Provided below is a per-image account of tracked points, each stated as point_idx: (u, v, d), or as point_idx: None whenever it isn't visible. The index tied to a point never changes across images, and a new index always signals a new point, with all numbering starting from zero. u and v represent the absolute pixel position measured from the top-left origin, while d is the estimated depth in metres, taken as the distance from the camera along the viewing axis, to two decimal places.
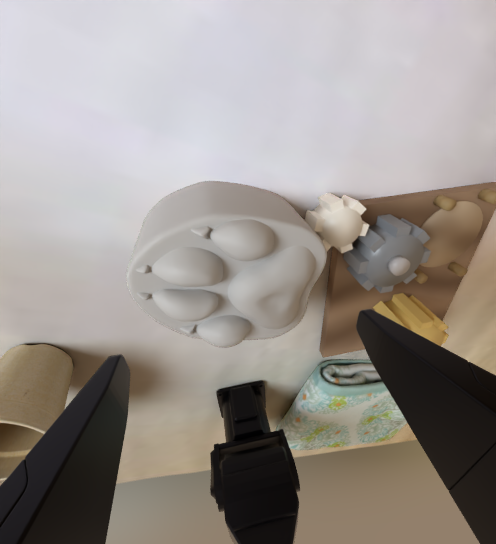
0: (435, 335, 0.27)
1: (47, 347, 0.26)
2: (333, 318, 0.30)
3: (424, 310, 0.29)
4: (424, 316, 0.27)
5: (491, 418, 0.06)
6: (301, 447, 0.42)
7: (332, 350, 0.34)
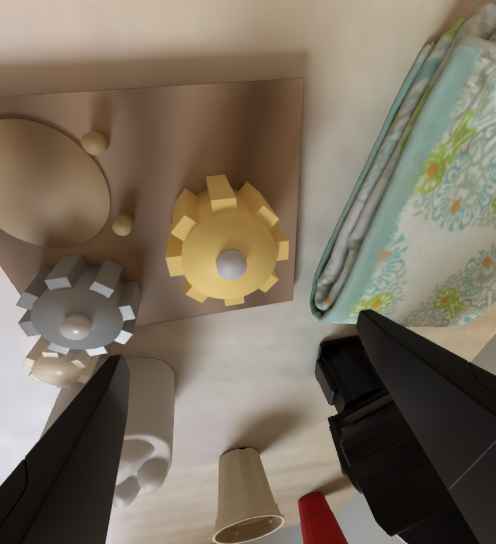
0: (199, 245, 0.14)
1: (222, 458, 0.39)
2: (216, 307, 0.23)
3: None
4: None
5: (492, 418, 0.06)
6: (477, 312, 0.25)
7: (281, 292, 0.23)
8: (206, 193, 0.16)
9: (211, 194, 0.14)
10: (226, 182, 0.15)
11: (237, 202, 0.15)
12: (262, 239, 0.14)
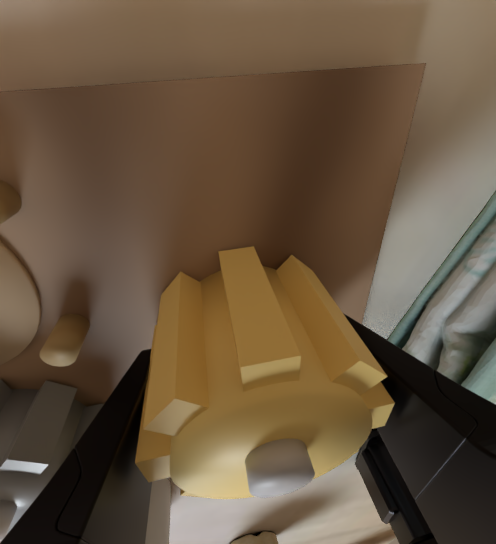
0: (210, 446, 0.06)
1: None
2: None
3: None
4: None
5: (449, 428, 0.06)
6: None
7: None
8: (219, 284, 0.09)
9: (237, 331, 0.06)
10: (262, 277, 0.07)
11: (286, 320, 0.07)
12: (348, 417, 0.06)
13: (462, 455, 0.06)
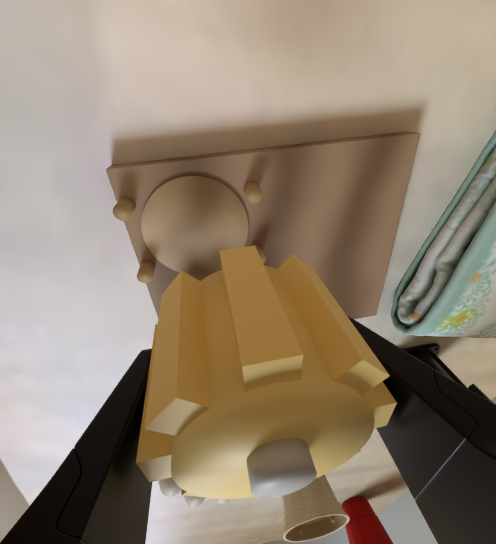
0: (212, 446, 0.06)
1: None
2: None
3: None
4: None
5: (449, 428, 0.06)
6: None
7: (367, 308, 0.26)
8: (221, 283, 0.09)
9: (239, 330, 0.06)
10: (264, 276, 0.07)
11: (287, 319, 0.07)
12: (350, 417, 0.06)
13: (462, 455, 0.06)
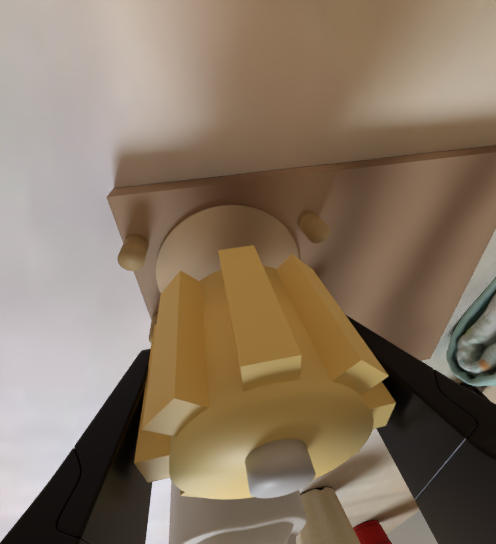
0: (210, 446, 0.06)
1: None
2: None
3: None
4: None
5: (450, 428, 0.06)
6: None
7: (422, 352, 0.21)
8: (219, 283, 0.09)
9: (238, 330, 0.06)
10: (262, 276, 0.07)
11: (286, 319, 0.07)
12: (349, 417, 0.06)
13: (462, 455, 0.06)
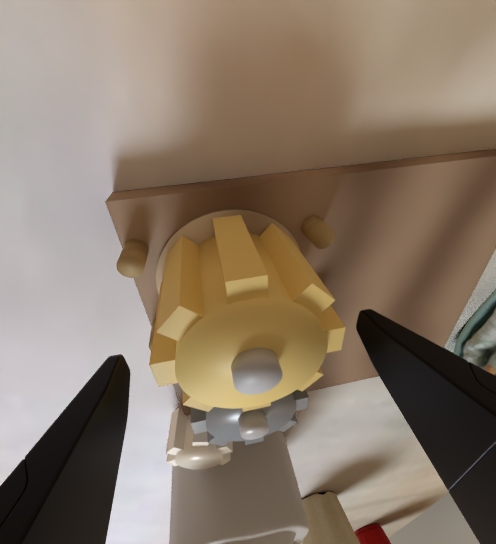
0: (205, 348, 0.08)
1: None
2: (358, 376, 0.20)
3: None
4: None
5: (492, 418, 0.06)
6: None
7: None
8: (213, 244, 0.11)
9: (224, 264, 0.08)
10: (245, 233, 0.10)
11: (263, 266, 0.10)
12: (307, 332, 0.09)
13: None
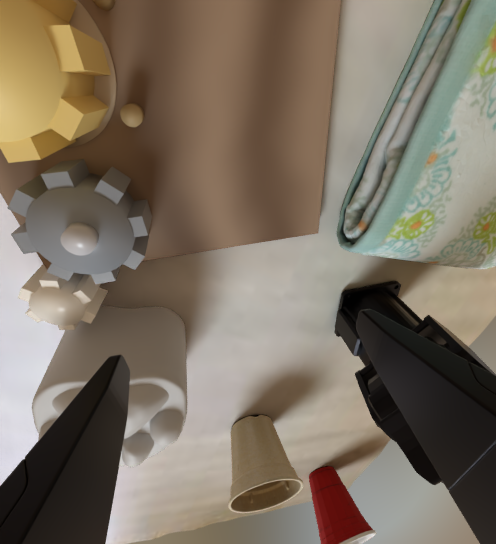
0: None
1: (234, 426, 0.38)
2: (234, 239, 0.20)
3: None
4: None
5: (492, 418, 0.06)
6: None
7: (306, 221, 0.21)
8: None
9: None
10: None
11: None
12: (5, 5, 0.08)
13: None
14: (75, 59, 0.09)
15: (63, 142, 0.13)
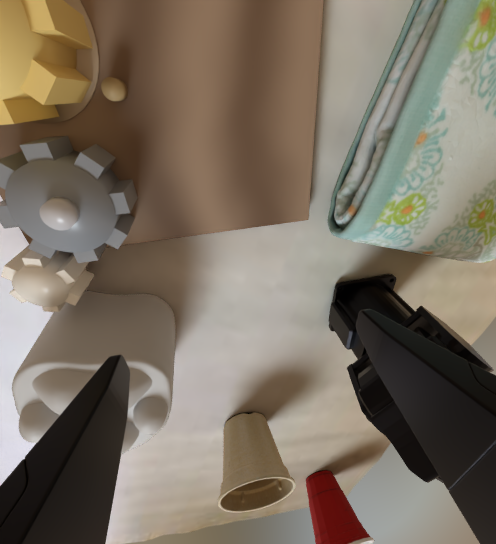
0: None
1: (227, 423, 0.37)
2: (222, 224, 0.20)
3: None
4: None
5: (492, 418, 0.06)
6: None
7: (296, 207, 0.20)
8: None
9: None
10: None
11: None
12: None
13: None
14: (46, 18, 0.09)
15: (43, 114, 0.13)
